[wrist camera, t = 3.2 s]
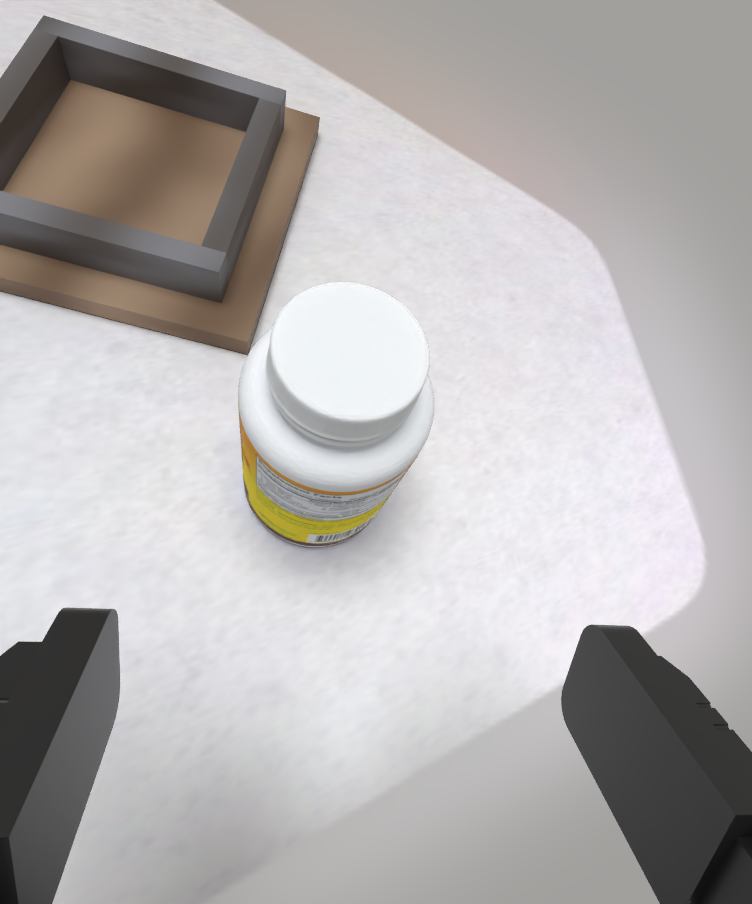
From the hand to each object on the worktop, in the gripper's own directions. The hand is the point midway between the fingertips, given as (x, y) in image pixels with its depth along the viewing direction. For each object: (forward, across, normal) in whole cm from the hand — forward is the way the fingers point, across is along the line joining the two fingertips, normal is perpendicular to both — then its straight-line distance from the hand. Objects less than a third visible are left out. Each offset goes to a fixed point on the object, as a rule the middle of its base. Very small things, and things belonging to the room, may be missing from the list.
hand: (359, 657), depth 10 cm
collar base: (+23, +9, -6) cm, 25 cm away
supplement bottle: (+13, 0, +3) cm, 14 cm away
